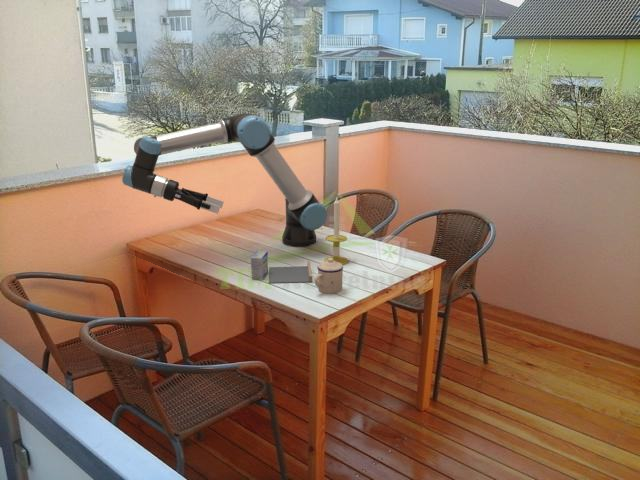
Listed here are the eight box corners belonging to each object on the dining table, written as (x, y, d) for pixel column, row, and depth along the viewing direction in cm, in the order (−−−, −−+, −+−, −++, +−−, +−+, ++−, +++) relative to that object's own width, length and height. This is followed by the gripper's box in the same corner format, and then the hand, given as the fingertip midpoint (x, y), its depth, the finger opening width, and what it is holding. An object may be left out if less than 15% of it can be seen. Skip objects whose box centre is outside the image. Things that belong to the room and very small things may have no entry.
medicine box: (263, 280, 220) (262, 258, 217) (251, 279, 220) (250, 257, 218) (268, 272, 227) (267, 251, 224) (257, 271, 228) (256, 250, 225)
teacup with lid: (329, 282, 217) (330, 252, 214) (348, 289, 211) (348, 258, 207) (306, 291, 209) (306, 260, 205) (324, 299, 203) (324, 267, 199)
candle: (344, 266, 233) (345, 200, 224) (320, 263, 236) (320, 198, 228) (351, 258, 242) (352, 194, 233) (328, 255, 245) (329, 192, 237)
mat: (309, 267, 232) (309, 261, 232) (312, 282, 217) (312, 276, 217) (269, 268, 231) (268, 262, 231) (268, 283, 216) (268, 277, 216)
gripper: (168, 193, 231) (221, 211, 234) (155, 202, 207) (214, 222, 209) (174, 175, 230) (227, 194, 232) (162, 182, 205) (220, 202, 208)
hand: (221, 207), depth 221 cm, fingers open, 13 cm apart
